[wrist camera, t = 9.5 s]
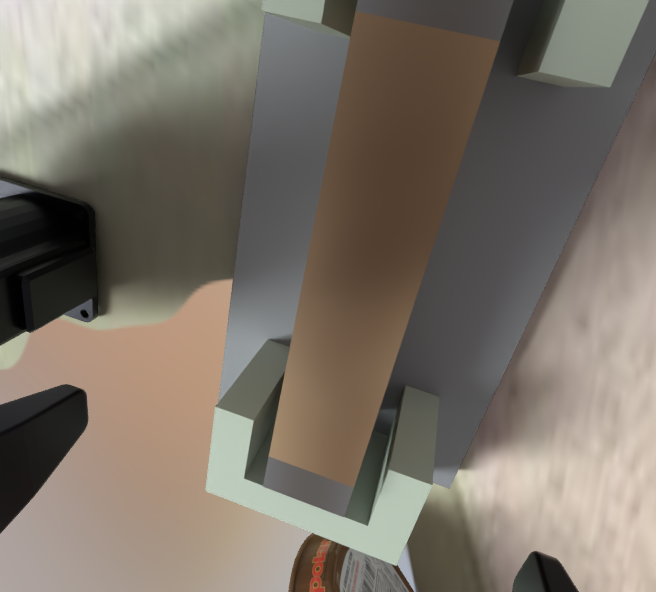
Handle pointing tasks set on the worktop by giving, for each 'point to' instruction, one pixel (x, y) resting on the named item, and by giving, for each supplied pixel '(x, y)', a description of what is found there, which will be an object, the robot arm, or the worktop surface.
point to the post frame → (446, 256)
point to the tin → (342, 570)
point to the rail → (376, 228)
